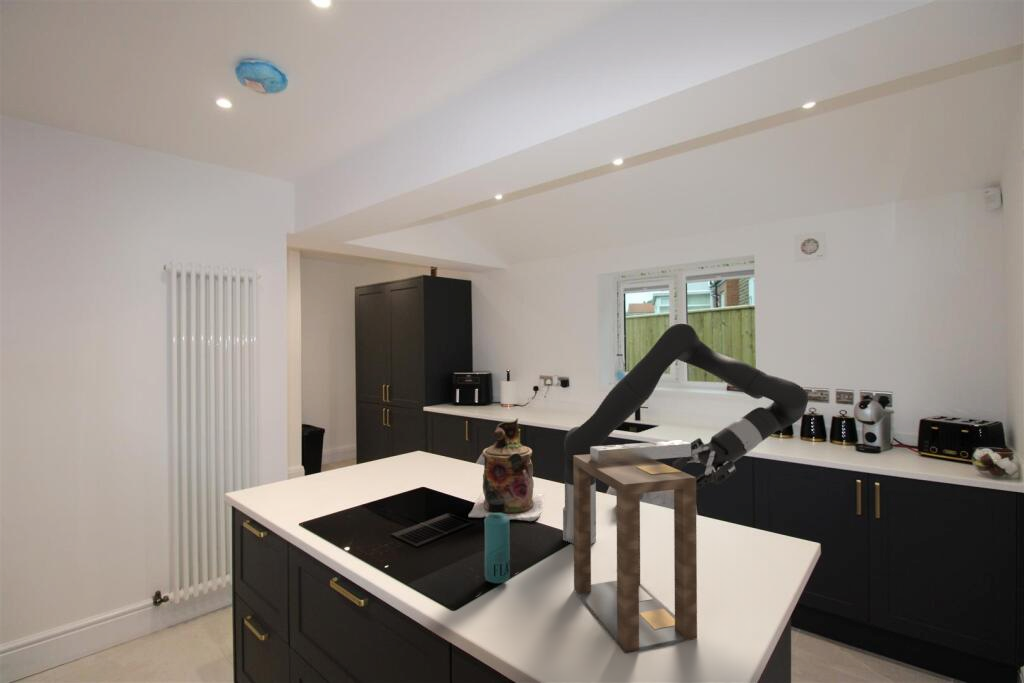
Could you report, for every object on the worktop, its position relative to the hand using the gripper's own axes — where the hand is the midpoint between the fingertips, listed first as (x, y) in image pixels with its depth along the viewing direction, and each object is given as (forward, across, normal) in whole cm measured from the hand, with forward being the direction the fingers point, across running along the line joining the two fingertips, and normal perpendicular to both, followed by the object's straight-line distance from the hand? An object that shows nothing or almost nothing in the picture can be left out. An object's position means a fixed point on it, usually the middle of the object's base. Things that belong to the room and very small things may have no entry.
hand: (682, 476), depth 116 cm
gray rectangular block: (+7, +2, -13) cm, 14 cm away
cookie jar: (+48, -53, +16) cm, 73 cm away
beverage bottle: (+52, -4, -2) cm, 52 cm away
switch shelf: (+28, +14, +9) cm, 33 cm away
